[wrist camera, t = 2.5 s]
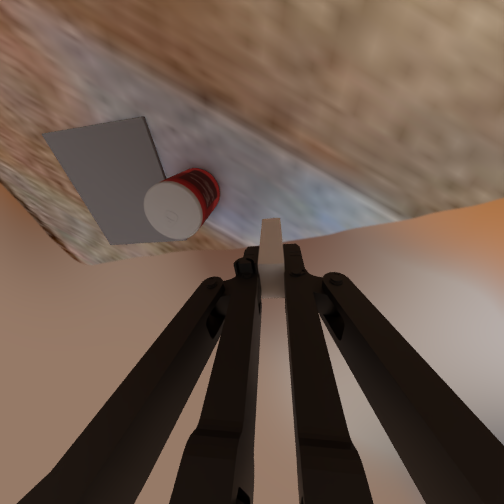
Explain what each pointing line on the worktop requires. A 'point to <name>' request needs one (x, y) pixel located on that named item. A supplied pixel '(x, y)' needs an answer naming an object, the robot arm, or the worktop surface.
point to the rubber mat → (113, 175)
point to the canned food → (181, 203)
